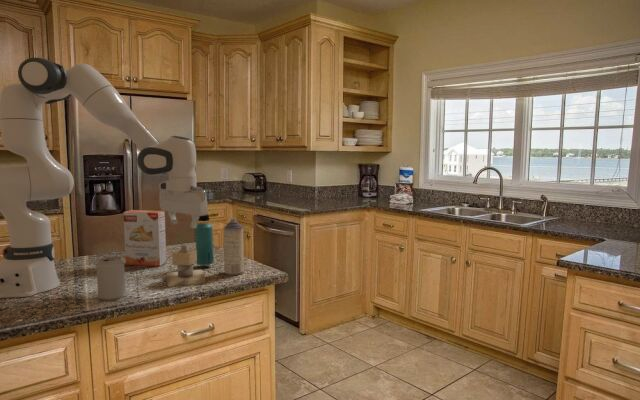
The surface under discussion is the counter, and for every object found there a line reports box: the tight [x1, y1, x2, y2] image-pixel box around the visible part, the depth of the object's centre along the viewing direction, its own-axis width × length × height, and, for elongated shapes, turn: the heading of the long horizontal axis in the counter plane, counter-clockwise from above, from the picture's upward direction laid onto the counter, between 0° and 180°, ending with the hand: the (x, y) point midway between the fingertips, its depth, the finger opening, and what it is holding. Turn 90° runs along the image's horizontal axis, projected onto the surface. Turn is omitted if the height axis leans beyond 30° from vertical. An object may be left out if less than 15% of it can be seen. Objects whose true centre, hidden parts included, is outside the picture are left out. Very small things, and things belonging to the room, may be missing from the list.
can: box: [96, 256, 126, 302], centre depth 131 cm, size 8×8×12 cm
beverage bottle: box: [195, 214, 215, 266], centre depth 166 cm, size 6×7×20 cm
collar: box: [171, 248, 197, 266], centre depth 149 cm, size 6×6×4 cm
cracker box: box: [123, 209, 167, 267], centre depth 168 cm, size 14×6×21 cm, turn 83°
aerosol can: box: [223, 217, 245, 277], centre depth 158 cm, size 7×7×20 cm
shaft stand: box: [166, 244, 207, 288], centre depth 149 cm, size 12×12×12 cm
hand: (183, 226), depth 148 cm, fingers open, 8 cm apart
